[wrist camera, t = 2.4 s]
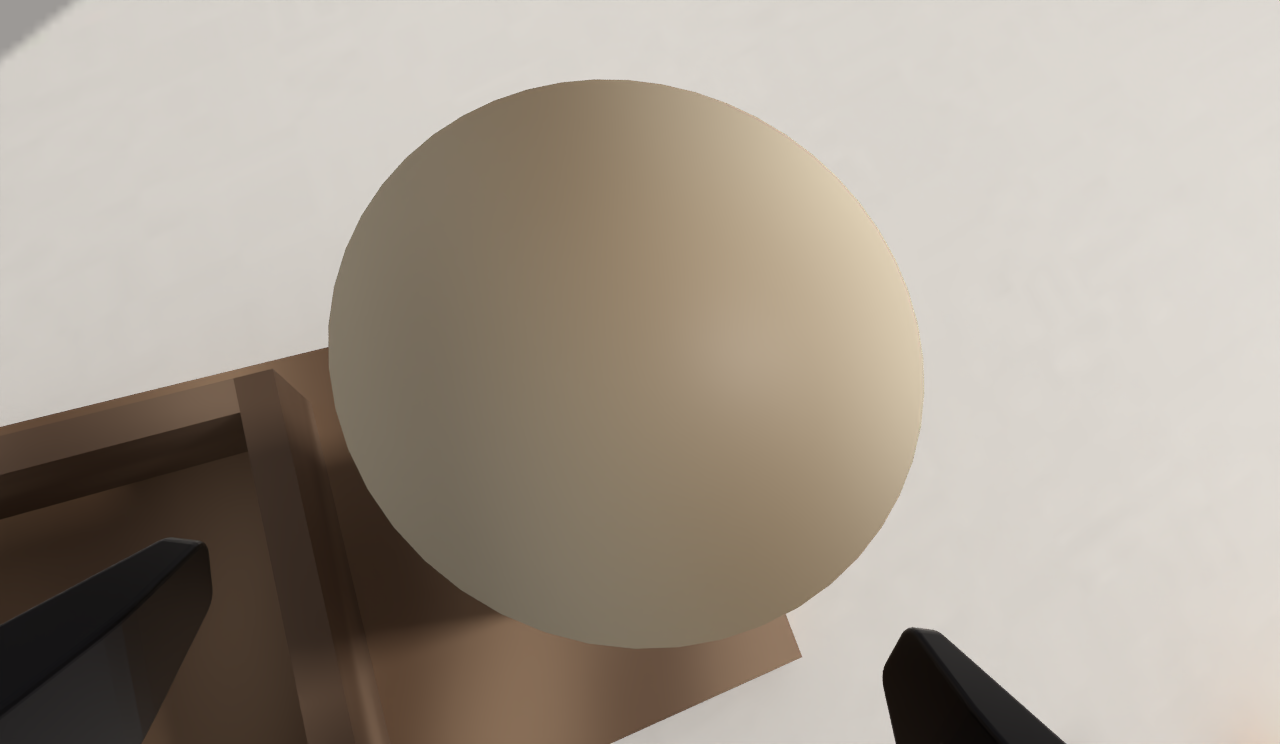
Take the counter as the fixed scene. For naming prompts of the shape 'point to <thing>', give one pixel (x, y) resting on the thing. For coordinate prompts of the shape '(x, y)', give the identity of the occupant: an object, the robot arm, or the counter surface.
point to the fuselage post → (626, 364)
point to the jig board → (315, 581)
